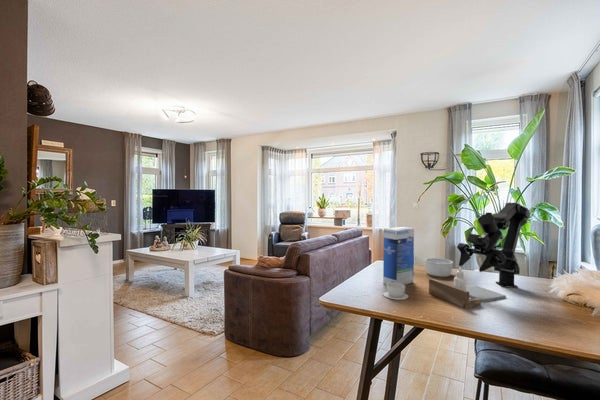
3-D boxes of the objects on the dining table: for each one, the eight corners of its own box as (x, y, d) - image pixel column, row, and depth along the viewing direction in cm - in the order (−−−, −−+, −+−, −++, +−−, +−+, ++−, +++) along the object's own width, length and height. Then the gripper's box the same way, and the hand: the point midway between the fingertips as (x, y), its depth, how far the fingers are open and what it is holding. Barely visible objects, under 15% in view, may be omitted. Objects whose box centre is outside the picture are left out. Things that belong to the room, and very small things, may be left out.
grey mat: (476, 288, 131) (476, 285, 131) (505, 297, 119) (506, 295, 119) (454, 291, 126) (454, 289, 126) (482, 302, 114) (482, 299, 114)
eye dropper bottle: (453, 299, 117) (453, 269, 117) (453, 294, 122) (453, 266, 122) (465, 301, 115) (466, 270, 115) (465, 296, 120) (466, 267, 120)
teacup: (410, 301, 115) (410, 289, 115) (384, 299, 117) (384, 288, 117) (406, 293, 125) (406, 282, 125) (382, 291, 127) (382, 280, 127)
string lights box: (401, 278, 145) (401, 226, 144) (414, 282, 139) (415, 228, 138) (382, 283, 138) (382, 228, 137) (395, 287, 131) (396, 230, 131)
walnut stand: (442, 290, 127) (442, 276, 127) (480, 305, 110) (481, 289, 110) (428, 292, 125) (428, 278, 125) (466, 308, 108) (466, 292, 108)
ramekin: (436, 278, 146) (437, 264, 146) (419, 271, 158) (419, 258, 158) (458, 276, 149) (459, 262, 149) (440, 270, 162) (440, 257, 162)
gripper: (460, 224, 130) (440, 251, 127) (502, 229, 113) (480, 260, 109) (472, 241, 133) (454, 267, 130) (515, 248, 116) (495, 279, 112)
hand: (469, 268), depth 120 cm, fingers open, 9 cm apart
